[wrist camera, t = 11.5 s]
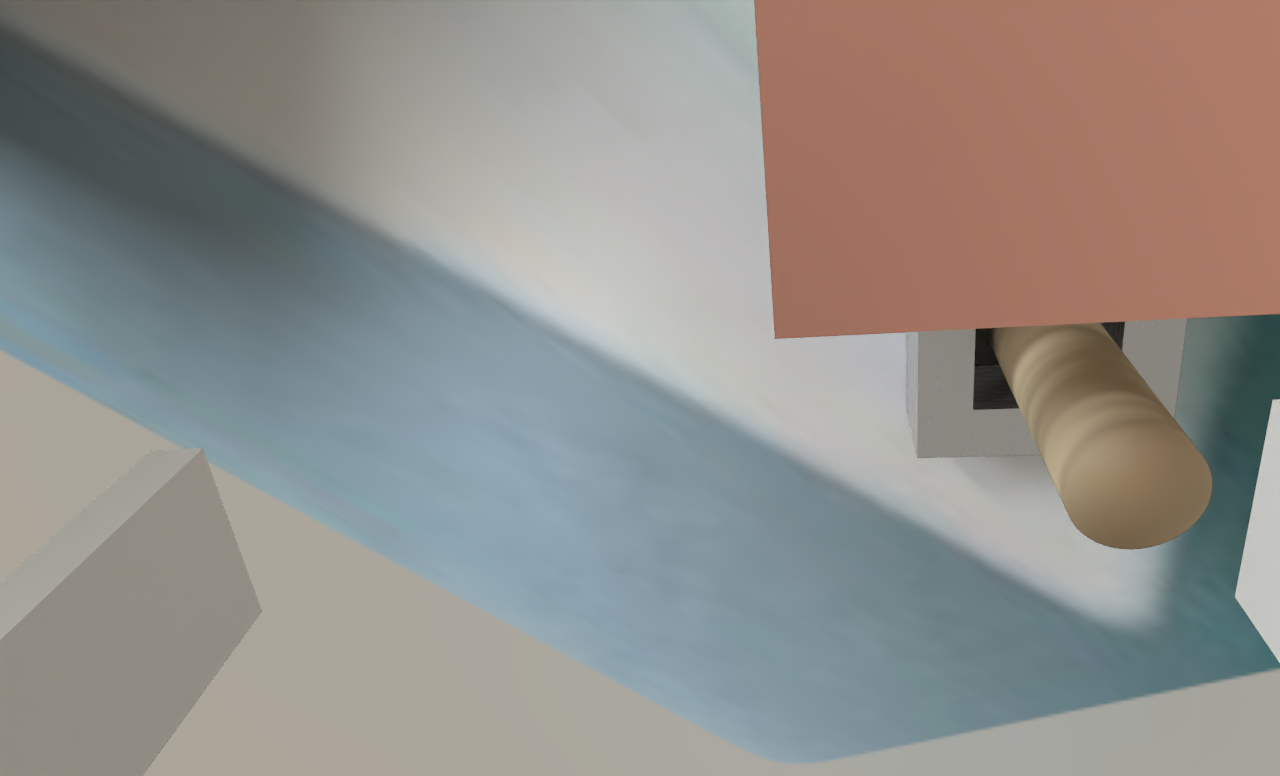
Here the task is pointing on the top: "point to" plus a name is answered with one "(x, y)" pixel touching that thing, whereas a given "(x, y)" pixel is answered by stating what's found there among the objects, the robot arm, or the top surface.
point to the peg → (1103, 435)
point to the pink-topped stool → (1018, 162)
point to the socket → (983, 402)
